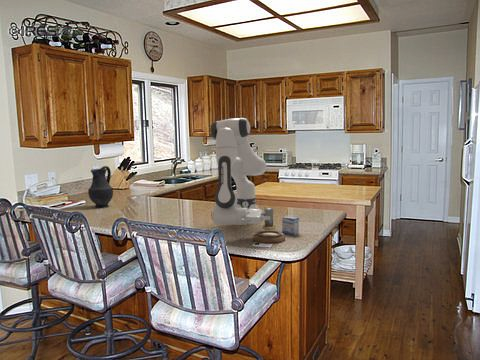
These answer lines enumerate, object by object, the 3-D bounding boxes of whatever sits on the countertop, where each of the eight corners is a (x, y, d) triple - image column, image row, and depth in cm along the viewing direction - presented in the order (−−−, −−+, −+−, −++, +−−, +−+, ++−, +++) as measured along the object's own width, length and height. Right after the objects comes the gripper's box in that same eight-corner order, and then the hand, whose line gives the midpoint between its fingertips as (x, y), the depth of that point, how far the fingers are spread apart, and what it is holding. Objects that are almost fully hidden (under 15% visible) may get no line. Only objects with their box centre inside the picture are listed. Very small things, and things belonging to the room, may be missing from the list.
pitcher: (84, 208, 298) (81, 167, 294) (101, 203, 317) (99, 165, 314) (104, 209, 293) (102, 168, 289) (121, 204, 312) (119, 165, 309)
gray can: (262, 226, 208) (262, 207, 207) (275, 226, 207) (275, 207, 206) (262, 229, 202) (262, 209, 201) (275, 229, 201) (275, 210, 200)
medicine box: (281, 233, 217) (281, 217, 216) (286, 231, 220) (286, 215, 219) (294, 235, 212) (294, 219, 211) (299, 233, 216) (299, 217, 215)
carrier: (254, 234, 214) (254, 229, 214) (284, 235, 213) (284, 229, 212) (252, 243, 198) (252, 237, 198) (285, 243, 197) (285, 237, 196)
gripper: (241, 214, 195) (270, 214, 193) (244, 206, 215) (271, 206, 213) (241, 227, 195) (270, 227, 194) (245, 218, 215) (271, 218, 214)
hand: (270, 216), depth 204 cm, fingers closed on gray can, 4 cm apart
